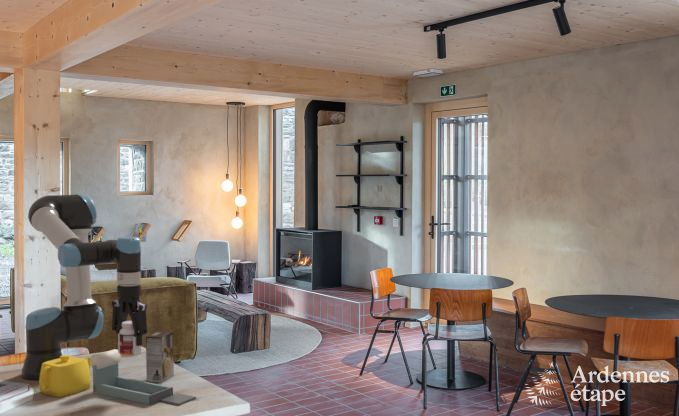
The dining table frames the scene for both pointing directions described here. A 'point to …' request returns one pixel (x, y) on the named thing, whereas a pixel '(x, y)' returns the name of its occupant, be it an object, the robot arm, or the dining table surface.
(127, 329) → the pill bottle
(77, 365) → the teapot
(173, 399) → the coaster
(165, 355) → the coffee box
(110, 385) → the teal rectangular frame
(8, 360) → the dining table surface
